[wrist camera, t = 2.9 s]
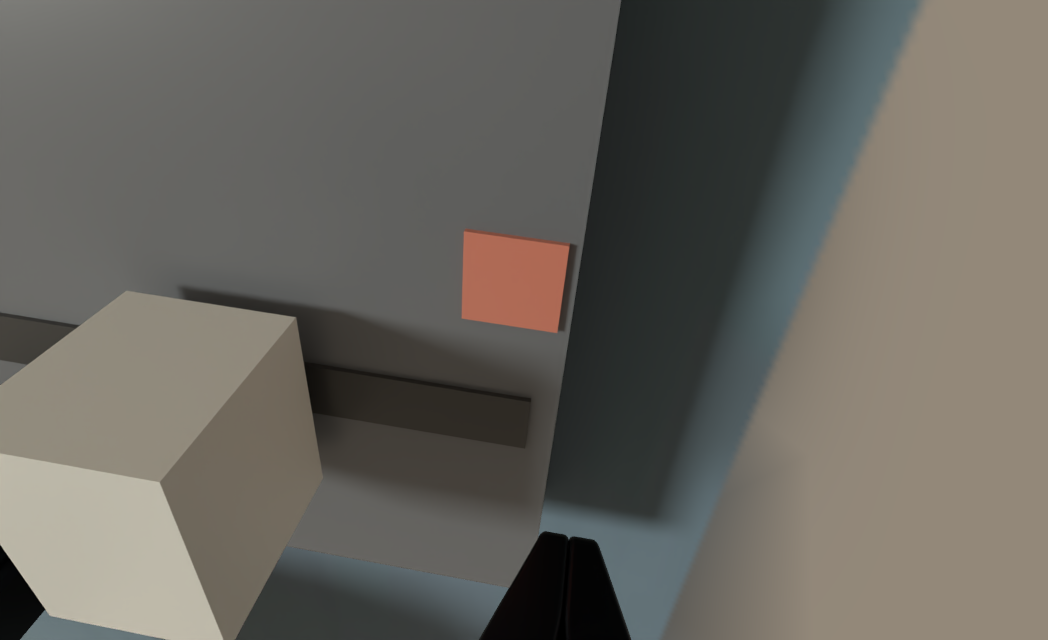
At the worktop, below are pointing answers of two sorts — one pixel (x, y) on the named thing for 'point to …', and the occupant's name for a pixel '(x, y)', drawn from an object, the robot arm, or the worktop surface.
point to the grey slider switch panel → (329, 226)
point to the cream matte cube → (158, 465)
